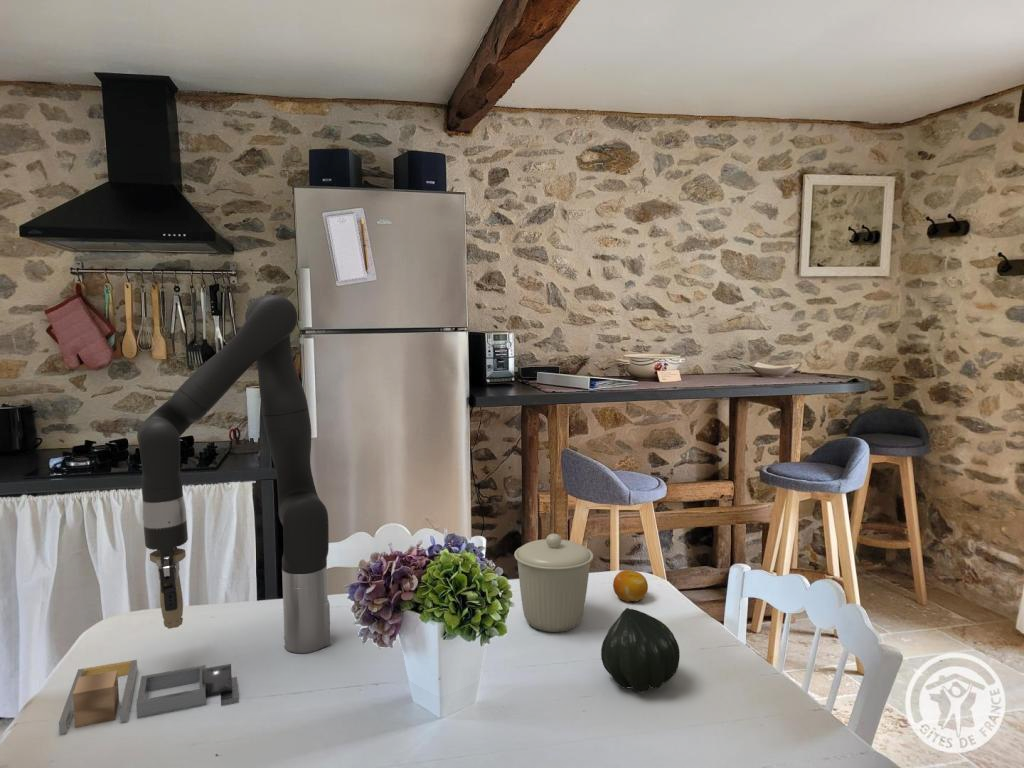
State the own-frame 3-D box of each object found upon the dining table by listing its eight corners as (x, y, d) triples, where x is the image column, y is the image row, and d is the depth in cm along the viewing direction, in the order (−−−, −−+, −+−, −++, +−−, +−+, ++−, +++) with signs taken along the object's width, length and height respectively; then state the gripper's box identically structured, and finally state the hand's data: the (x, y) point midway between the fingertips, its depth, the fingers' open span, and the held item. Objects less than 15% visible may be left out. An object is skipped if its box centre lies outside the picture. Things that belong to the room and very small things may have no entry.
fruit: (639, 596, 172) (635, 563, 176) (608, 601, 176) (605, 569, 180) (655, 602, 178) (651, 570, 182) (624, 607, 182) (621, 575, 186)
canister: (596, 641, 156) (597, 547, 154) (513, 640, 156) (513, 547, 154) (588, 606, 174) (589, 522, 172) (514, 606, 174) (514, 522, 172)
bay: (137, 676, 141) (136, 659, 140) (127, 728, 123) (126, 709, 123) (79, 686, 137) (78, 669, 136) (60, 742, 119) (58, 722, 119)
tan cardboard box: (119, 701, 129) (117, 670, 129) (115, 719, 124) (113, 686, 123) (80, 709, 127) (78, 677, 126) (74, 727, 121) (72, 694, 121)
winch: (236, 679, 140) (235, 652, 139) (238, 705, 131) (237, 676, 130) (142, 696, 133) (141, 668, 133) (137, 725, 124) (136, 695, 124)
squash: (703, 670, 133) (671, 593, 140) (634, 690, 127) (604, 608, 135) (670, 690, 143) (641, 617, 151) (605, 709, 138) (579, 632, 146)
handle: (181, 632, 138) (175, 557, 136) (150, 630, 139) (144, 556, 137) (195, 620, 143) (190, 548, 141) (166, 619, 144) (160, 547, 142)
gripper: (185, 528, 133) (192, 615, 135) (187, 508, 146) (193, 588, 148) (140, 534, 130) (148, 623, 132) (146, 513, 143) (153, 595, 145)
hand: (172, 604), depth 140 cm, fingers closed on handle, 4 cm apart
